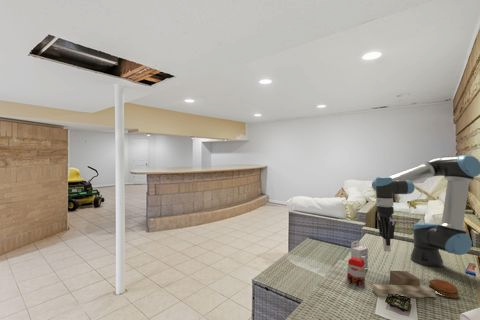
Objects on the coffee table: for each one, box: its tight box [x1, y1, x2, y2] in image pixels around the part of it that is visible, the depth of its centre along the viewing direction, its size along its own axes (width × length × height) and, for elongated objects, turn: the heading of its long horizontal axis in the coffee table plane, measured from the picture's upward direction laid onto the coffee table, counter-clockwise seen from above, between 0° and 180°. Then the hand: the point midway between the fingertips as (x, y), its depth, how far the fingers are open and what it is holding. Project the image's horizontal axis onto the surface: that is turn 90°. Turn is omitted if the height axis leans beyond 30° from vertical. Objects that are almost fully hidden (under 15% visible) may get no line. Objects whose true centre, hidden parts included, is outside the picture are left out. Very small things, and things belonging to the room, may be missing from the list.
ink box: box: [350, 239, 369, 268], centre depth 122 cm, size 8×5×15 cm, turn 123°
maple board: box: [372, 283, 436, 298], centre depth 97 cm, size 24×4×3 cm, turn 89°
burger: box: [428, 278, 459, 299], centre depth 99 cm, size 10×9×5 cm
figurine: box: [346, 256, 367, 287], centre depth 107 cm, size 8×7×12 cm
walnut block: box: [389, 270, 421, 286], centre depth 103 cm, size 8×8×6 cm
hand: (387, 250), depth 117 cm, fingers closed
